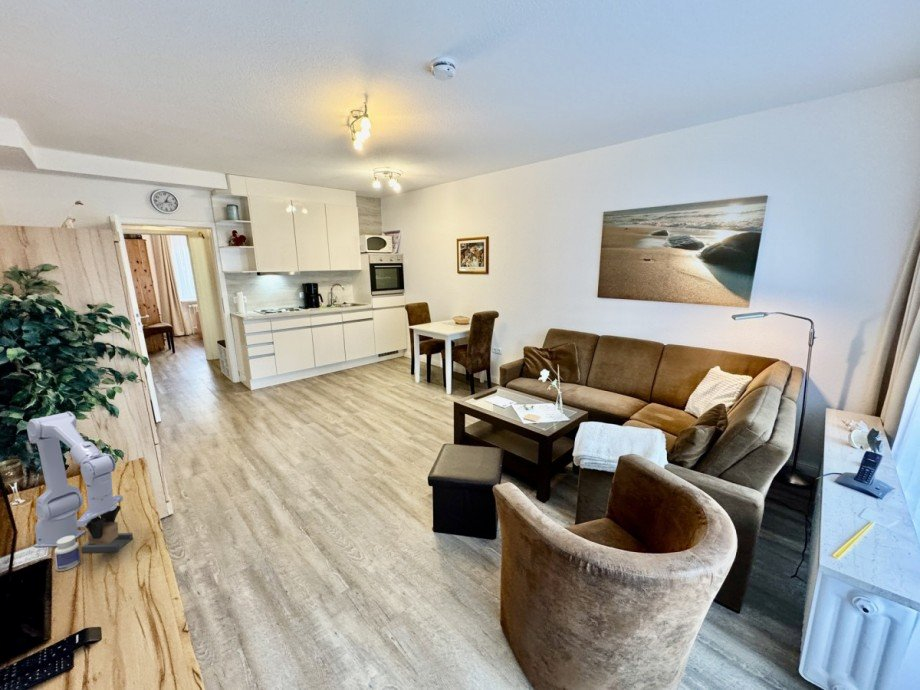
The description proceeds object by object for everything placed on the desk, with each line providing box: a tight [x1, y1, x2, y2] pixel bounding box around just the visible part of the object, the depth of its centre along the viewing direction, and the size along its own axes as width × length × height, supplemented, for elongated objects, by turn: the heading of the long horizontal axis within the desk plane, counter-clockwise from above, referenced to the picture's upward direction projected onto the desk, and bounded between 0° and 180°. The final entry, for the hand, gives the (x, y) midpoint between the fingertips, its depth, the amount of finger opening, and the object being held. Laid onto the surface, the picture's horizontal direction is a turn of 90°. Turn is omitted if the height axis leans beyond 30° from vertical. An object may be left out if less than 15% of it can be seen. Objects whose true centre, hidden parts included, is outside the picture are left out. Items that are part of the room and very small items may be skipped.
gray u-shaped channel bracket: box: [80, 532, 134, 554], centre depth 125 cm, size 10×7×2 cm, turn 96°
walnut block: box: [87, 521, 119, 543], centre depth 119 cm, size 6×4×5 cm, turn 95°
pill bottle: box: [53, 535, 81, 572], centre depth 115 cm, size 5×5×9 cm
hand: (102, 533), depth 119 cm, fingers closed on walnut block, 3 cm apart
